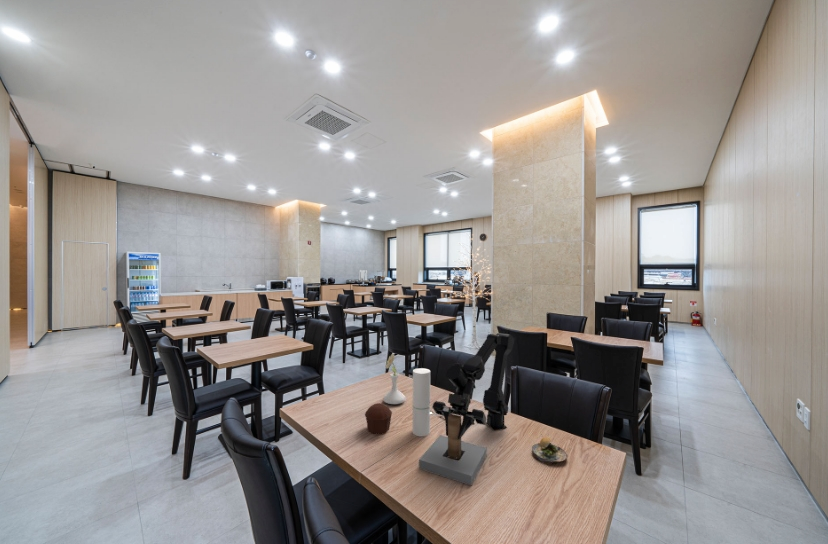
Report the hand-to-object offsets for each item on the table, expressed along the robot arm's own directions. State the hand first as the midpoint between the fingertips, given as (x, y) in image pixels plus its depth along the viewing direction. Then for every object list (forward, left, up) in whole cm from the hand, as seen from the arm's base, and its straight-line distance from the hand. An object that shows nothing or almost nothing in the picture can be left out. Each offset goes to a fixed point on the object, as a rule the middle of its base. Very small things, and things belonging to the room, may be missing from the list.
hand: (452, 437), depth 107 cm
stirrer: (-11, -34, -10) cm, 37 cm away
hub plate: (-1, -1, -9) cm, 9 cm away
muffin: (+18, -32, -9) cm, 38 cm away
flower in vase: (+4, -56, -9) cm, 57 cm away
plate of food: (-35, +7, -10) cm, 37 cm away
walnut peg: (-1, -1, -7) cm, 7 cm away
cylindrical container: (+2, -24, -9) cm, 26 cm away
